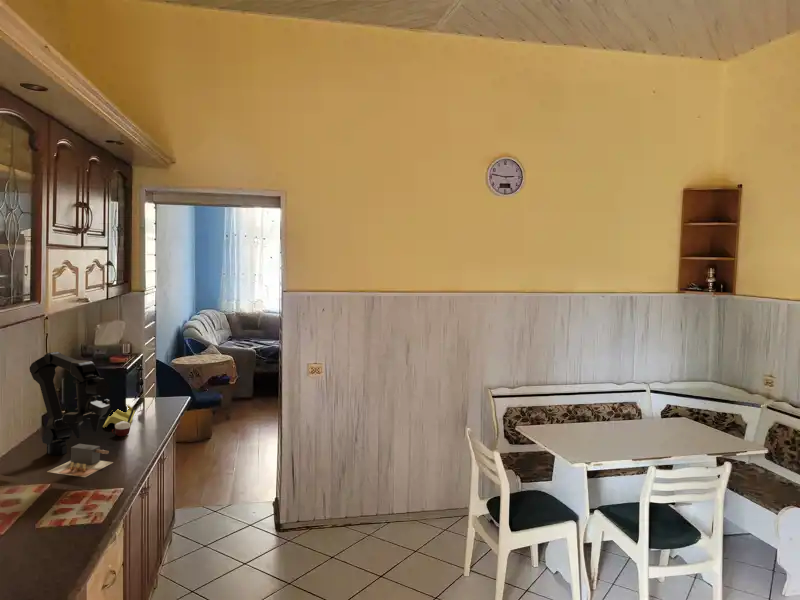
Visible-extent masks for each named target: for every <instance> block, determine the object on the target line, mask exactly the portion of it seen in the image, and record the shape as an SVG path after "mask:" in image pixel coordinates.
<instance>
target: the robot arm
mask: <svg viewBox="0 0 800 600" xmlns="http://www.w3.org/2000/svg"><path fill="white" fill-rule="evenodd" d="M57 367H60V368H62V369H65V370H67V371H69V373H70V376H71V375H72V377H74V379H73V381H72V383H73V384H75V387H76V397H75V398H74V402H76V405H77V408H75V409H74V411H70V412H67V413H64V414H63V411H62V407H61V404H60V399H59V397H58V393H57V388H56V385H55V382H54V379H55V376H56V374H57V371H56V369H57ZM29 372H30V374H31V377H32V380H34V381H35V382H36V383H38V384H39V387H40V391H41V395H42V398H43V402H44V407H45V410H46V414H47V418H48V420H47V424H46V426H45V427H46V431H45V433H44V435H42V437H41V439H42V440H41V441H42V444H45V445H46V454H48V455H50V456H63V455H65V454H68V444H67V441H69V440H71V438H72V433H73V434H74V435H75V437H76V438H77V439H80V438H81V437H82V436H81V433H82V429H81V428H82V424H83V423H84V420H83V419H84V417H85V416H88V417H89V419H90V423H91V427H92V431H93V432H94V433H97V432H98V428H99V426H100V423H101V419H102V418H103V416H105V415H106V414H107V412H109V409H110V408H111V401H110V399H108V398H106V399H104V400H98V397H102V398H104V397H105V396H107V395H108V394H109V392H110V385H109V383H108V382H106V381H105V378H103V377H102V375H101V373H100V371H99V370H98V368H97V366H96V365H95V362H93V361H91V360H80V359H79V360H78V359H75V358H73V357H71V356H68V355H65V354H63V353H61V352H59V351H53V352H47V353H46V354H44V355H43V356H42V357H40V358H38V359H36V360H35V361H33V362H32V363H31V364H30V366H29Z"/></svg>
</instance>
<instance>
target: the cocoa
mask: <svg viewBox="0 0 800 600" xmlns="http://www.w3.org/2000/svg"><path fill="white" fill-rule="evenodd" d="M134 410H135V406H133V407H132V411H131V414H130V416H129V419H128V421H127V422H124V421H121V422H119V423H117V424H114V428H113V429H111V433H112V435H114V436H118V437H126V436H128V435H129V433H130V430H131V423H129V422H130V420H131V417H132V414H133V412H134Z"/></svg>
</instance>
